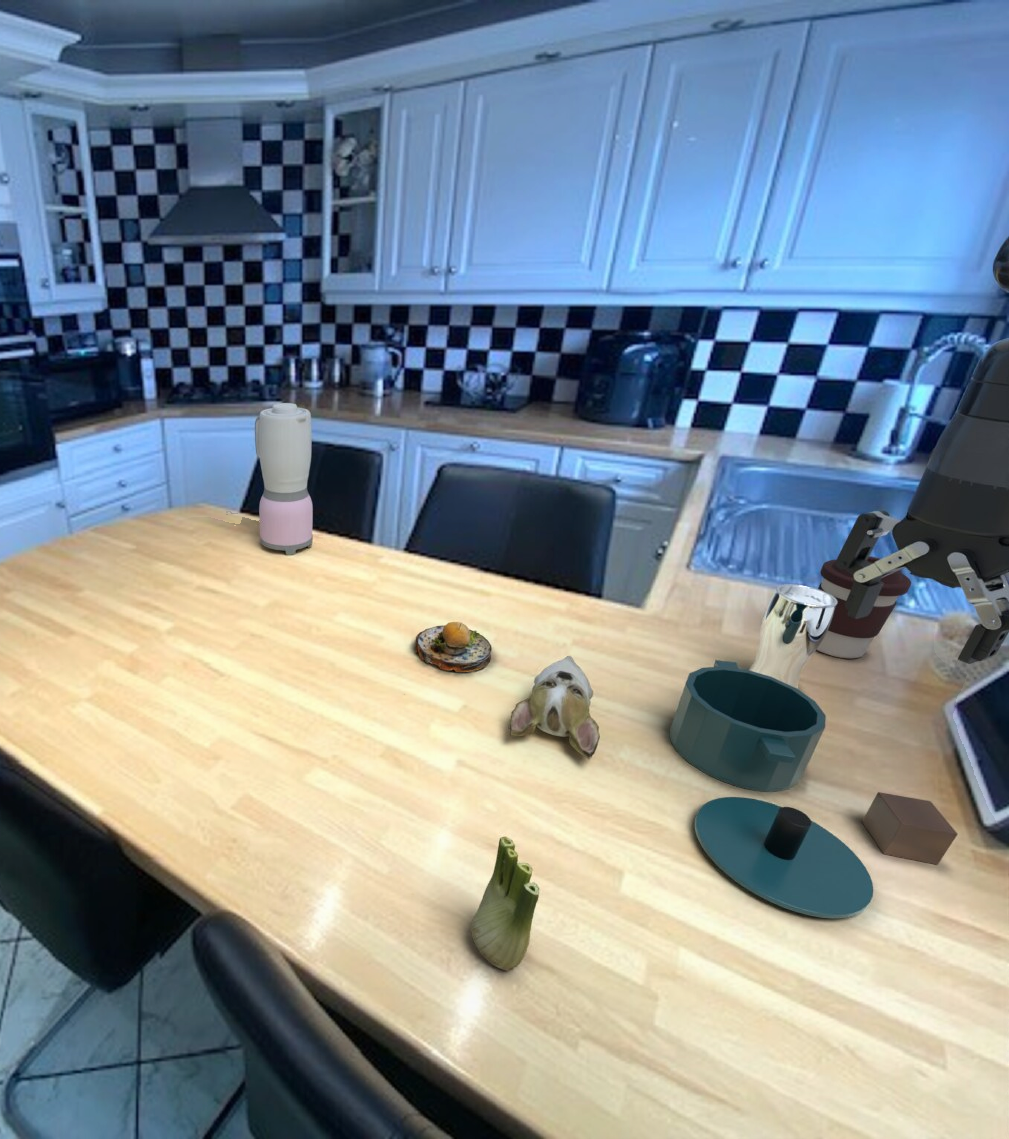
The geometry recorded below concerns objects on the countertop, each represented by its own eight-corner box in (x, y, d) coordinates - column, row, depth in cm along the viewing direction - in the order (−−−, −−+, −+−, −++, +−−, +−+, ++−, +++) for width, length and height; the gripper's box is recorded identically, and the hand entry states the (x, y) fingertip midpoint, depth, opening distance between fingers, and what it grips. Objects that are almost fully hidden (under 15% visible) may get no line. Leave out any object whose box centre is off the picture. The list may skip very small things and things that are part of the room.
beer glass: (812, 700, 88) (853, 608, 82) (757, 696, 89) (793, 605, 83) (782, 671, 95) (818, 584, 88) (731, 668, 96) (763, 582, 89)
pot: (766, 715, 86) (787, 664, 82) (832, 820, 70) (862, 762, 66) (654, 698, 90) (669, 649, 86) (691, 793, 74) (712, 738, 70)
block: (912, 831, 68) (930, 800, 66) (938, 864, 64) (958, 833, 62) (861, 821, 69) (877, 791, 67) (883, 854, 66) (901, 823, 64)
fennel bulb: (525, 987, 55) (549, 896, 50) (466, 968, 56) (483, 877, 51) (524, 928, 60) (546, 840, 54) (471, 912, 61) (487, 824, 56)
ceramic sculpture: (615, 655, 84) (605, 724, 73) (602, 704, 89) (591, 777, 78) (531, 637, 90) (510, 698, 79) (523, 684, 94) (502, 749, 83)
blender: (324, 544, 144) (326, 404, 130) (285, 560, 137) (284, 414, 123) (277, 527, 155) (275, 396, 141) (240, 540, 148) (234, 404, 134)
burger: (494, 641, 105) (500, 603, 101) (486, 680, 95) (493, 639, 92) (422, 628, 109) (425, 590, 106) (408, 663, 100) (411, 623, 97)
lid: (827, 820, 70) (848, 780, 67) (902, 941, 57) (931, 898, 55) (677, 792, 74) (691, 753, 71) (716, 898, 62) (734, 856, 59)
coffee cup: (802, 624, 106) (835, 544, 100) (880, 648, 99) (921, 563, 93) (786, 646, 101) (819, 562, 94) (867, 672, 94) (910, 584, 87)
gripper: (1151, 489, 46) (1039, 669, 53) (916, 445, 59) (850, 596, 66) (1092, 503, 44) (984, 688, 51) (861, 455, 57) (800, 609, 64)
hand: (909, 636), depth 59 cm, fingers open, 8 cm apart
